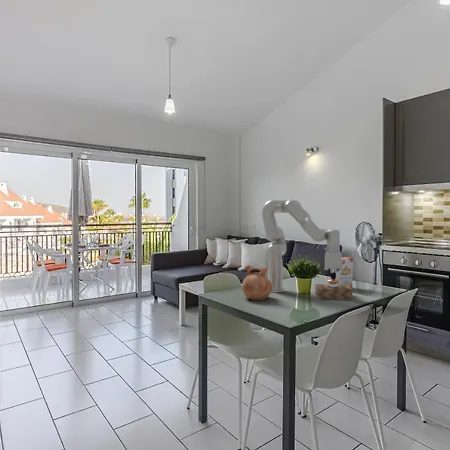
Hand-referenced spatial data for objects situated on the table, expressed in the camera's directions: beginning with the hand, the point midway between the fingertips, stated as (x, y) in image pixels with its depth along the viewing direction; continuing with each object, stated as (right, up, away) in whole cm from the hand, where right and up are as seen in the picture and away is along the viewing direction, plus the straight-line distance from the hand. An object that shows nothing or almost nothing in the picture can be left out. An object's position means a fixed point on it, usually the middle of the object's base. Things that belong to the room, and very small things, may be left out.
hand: (333, 279), depth 217 cm
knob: (0, -7, 0) cm, 7 cm away
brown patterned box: (0, -11, +1) cm, 11 cm away
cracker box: (+13, -10, +23) cm, 28 cm away
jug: (-47, -11, -3) cm, 48 cm away
